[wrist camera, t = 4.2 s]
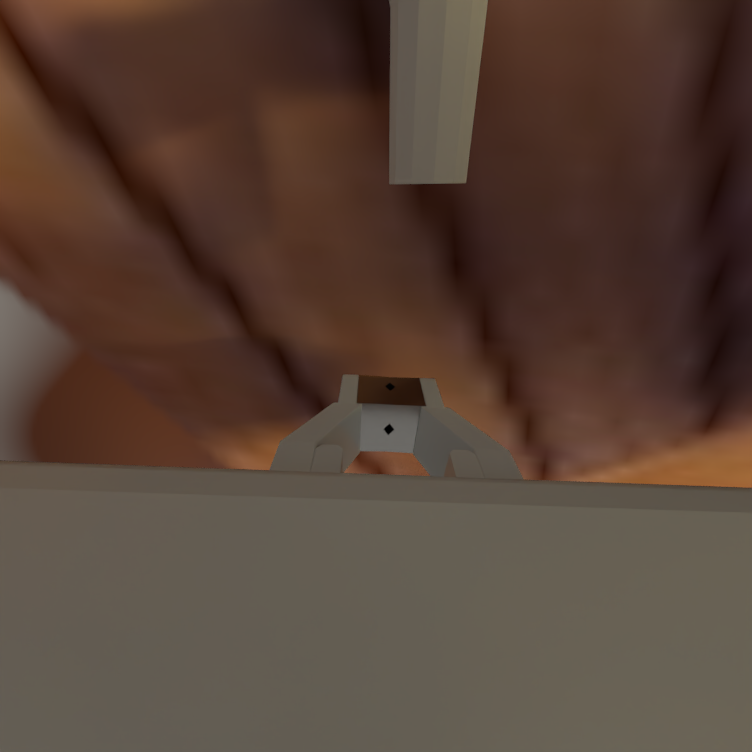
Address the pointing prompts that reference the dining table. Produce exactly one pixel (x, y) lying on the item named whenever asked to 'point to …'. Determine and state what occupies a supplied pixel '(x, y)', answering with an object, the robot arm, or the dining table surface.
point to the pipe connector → (433, 88)
